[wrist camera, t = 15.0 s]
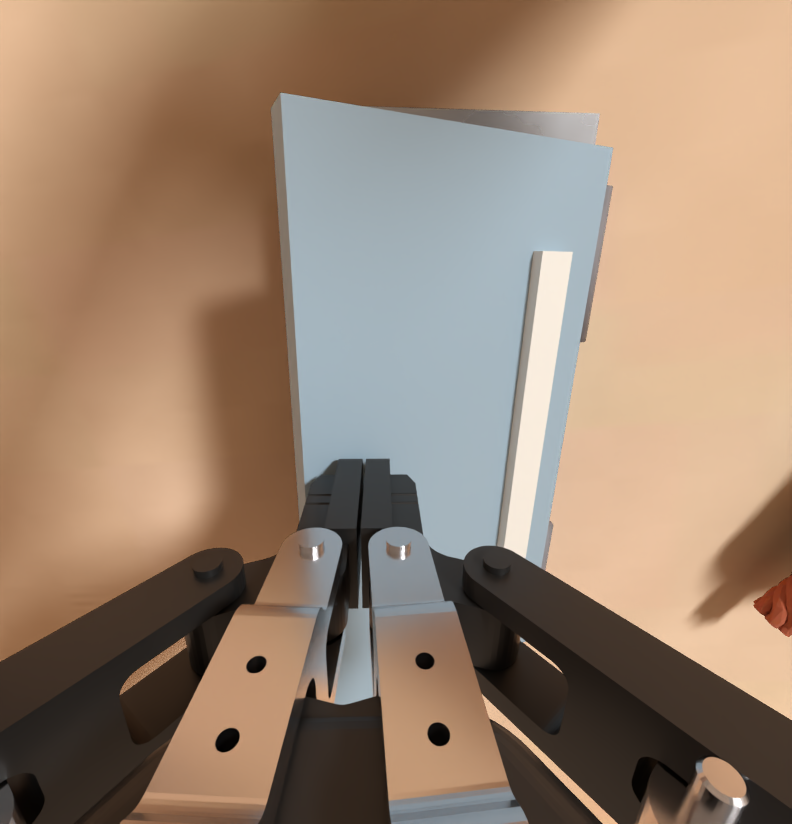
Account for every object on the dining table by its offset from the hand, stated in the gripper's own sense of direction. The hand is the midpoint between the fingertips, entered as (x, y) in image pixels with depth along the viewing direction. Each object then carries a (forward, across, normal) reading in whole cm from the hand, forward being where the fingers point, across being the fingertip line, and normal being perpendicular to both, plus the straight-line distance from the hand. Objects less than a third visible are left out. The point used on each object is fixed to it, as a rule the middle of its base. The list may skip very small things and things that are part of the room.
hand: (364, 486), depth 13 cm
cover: (+3, -3, 0) cm, 4 cm away
